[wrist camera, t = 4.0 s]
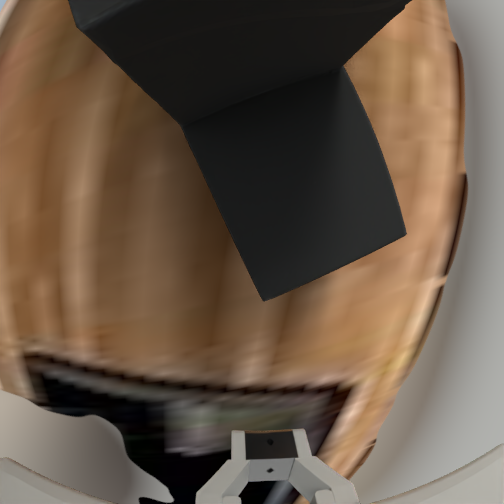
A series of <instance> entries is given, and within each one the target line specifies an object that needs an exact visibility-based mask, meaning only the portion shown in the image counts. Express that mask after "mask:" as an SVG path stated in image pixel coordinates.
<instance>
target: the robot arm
mask: <svg viewBox="0 0 504 504" xmlns="http://www.w3.org/2000/svg"><path fill="white" fill-rule="evenodd" d="M274 480H288V481H289V482H290V483H291V484H292V485H293V486H294V487H295V488H296V489H297V490H298V491H299V492H300V493H301V494H302V495H303V496H304V497H305V498H306V499H307V500H308V501H309V502H310V504H360V501H359V498H358V496H357V493H356V490H355V488H354V485H353V483H351V482H350V481H348V480H347V479H346V478H344V477H343V476H341V475H340V474H339V473H337V472H336V471H334V470H333V469H332V468H330V467H329V466H328V465H326V464H325V463H324V462H322V461H321V460H320V459H318V458H317V457H316V456H312V454H311V451H310V447H309V443H308V440H307V436H306V432H305V430H304V429H292V430H291V429H289V430H271V431H238V430H232V443H231V460H227V461H226V463H225V464H224V465H223V466H222V467H221V468H220V469H219V470H218V471H217V472H216V473H215V474H214V476H213V477H212V478H211V479H210V480H209V481H208V482H207V483H206V484H205V485H204V486H203V487H202V488H201V489H200V490H199V491H198V492H197V494H196V504H241V498H239V497H238V495H239V494H240V493H241V491H242V490H243V488H244V487H245V486H246V484H247V483H248V482H249V481H274ZM0 504H117V503H113V502H109V501H106V500H103V499H100V498H96V497H94V496H91V495H88V494H85V493H82V492H80V491H77V490H75V489H72V488H69V487H67V486H64V485H62V484H60V483H57V482H55V481H53V480H51V479H49V478H46V477H44V476H42V475H40V474H38V473H36V472H34V471H32V470H30V469H28V468H27V467H25V466H23V465H21V464H19V463H18V462H16V461H14V460H12V459H10V458H7V457H5V458H0ZM370 504H504V444H500V445H498V446H497V447H495V448H494V449H492V450H490V451H489V452H487V453H486V454H484V455H482V456H481V457H479V458H477V459H475V460H474V461H472V462H470V463H468V464H467V465H465V466H463V467H461V468H459V469H457V470H455V471H453V472H451V473H449V474H447V475H445V476H443V477H441V478H439V479H436V480H434V481H432V482H430V483H427V484H425V485H422V486H420V487H418V488H415V489H412V490H410V491H407V492H404V493H402V494H399V495H396V496H393V497H390V498H387V499H384V500H380V501H377V502H374V503H370Z"/></svg>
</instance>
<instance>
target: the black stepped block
mask: <svg viewBox="0 0 504 504" xmlns="http://www.w3.org/2000/svg"><path fill="white" fill-rule="evenodd" d="M68 1H69V4H70V8H71V11H72V14H73V17H74V20H75V23H76V27H77V28H78V29H79V30H80V31H82V32H83V33H84V34H85V35H86V36H87V37H88V38H90V39H91V40H92V41H93V42H94V43H95V44H96V45H97V46H98V47H99V48H100V49H101V50H103V51H104V53H105V54H106V55H107V56H108V57H109V58H110V59H111V60H112V61H113V62H114V63H115V64H117V65H118V66H119V67H120V68H121V69H122V70H123V71H124V72H125V73H126V74H127V75H128V76H129V77H130V78H131V79H132V80H133V81H134V82H135V83H137V84H138V86H140V87H141V88H142V89H143V90H144V91H145V92H146V93H147V94H148V95H149V96H150V97H151V98H153V99H154V100H155V101H156V102H157V103H158V104H159V105H160V106H161V107H162V108H163V109H164V110H165V111H166V112H167V113H169V114H170V115H171V116H172V118H173V119H174V120H176V121H177V122H178V124H179V125H180V126H181V128H182V130H183V132H184V135H185V137H186V139H187V141H188V144H189V146H190V148H191V150H192V152H193V154H194V156H195V158H196V161H197V163H198V165H199V167H200V169H201V171H202V174H203V176H204V178H205V180H206V182H207V185H208V187H209V189H210V191H211V193H212V195H213V198H214V200H215V202H216V204H217V206H218V208H219V211H220V213H221V215H222V217H223V219H224V221H225V223H226V226H227V228H228V230H229V232H230V234H231V236H232V238H233V240H234V243H235V245H236V247H237V249H238V251H239V253H240V255H241V257H242V259H243V261H244V264H245V266H246V268H247V270H248V272H249V274H250V276H251V278H252V280H253V282H254V284H255V286H256V289H257V291H258V293H259V295H260V297H261V298H262V300H263V301H267V300H270V299H272V298H275V297H277V296H279V295H282V294H284V293H286V292H288V291H291V290H293V289H295V288H298V287H300V286H302V285H304V284H307V283H309V282H311V281H313V280H315V279H317V278H320V277H322V276H324V275H326V274H328V273H330V272H332V271H335V270H337V269H339V268H341V267H343V266H345V265H347V264H349V263H351V262H354V261H356V260H358V259H360V258H362V257H364V256H366V255H368V254H370V253H372V252H374V251H376V250H378V249H380V248H382V247H384V246H386V245H388V244H390V243H392V242H394V241H396V240H398V239H400V238H402V237H404V236H405V235H406V234H407V233H406V228H405V225H404V221H403V217H402V213H401V209H400V206H399V202H398V199H397V196H396V193H395V189H394V186H393V183H392V180H391V177H390V174H389V171H388V168H387V165H386V162H385V159H384V157H383V154H382V151H381V148H380V146H379V143H378V140H377V138H376V135H375V133H374V130H373V128H372V126H371V123H370V121H369V118H368V116H367V114H366V112H365V109H364V107H363V105H362V103H361V100H360V98H359V96H358V94H357V92H356V90H355V88H354V86H353V84H352V82H351V80H350V78H349V76H348V74H347V72H346V70H345V68H344V66H343V65H344V64H345V63H346V62H347V61H348V60H349V59H350V58H351V57H352V56H353V55H354V54H355V53H356V52H357V51H358V50H359V49H360V48H362V47H363V46H364V45H365V44H366V43H367V42H368V41H369V40H370V39H371V38H372V37H373V36H374V35H375V34H376V33H378V32H379V31H380V30H381V29H382V28H383V27H384V26H385V25H386V24H387V23H388V22H389V21H390V20H392V19H393V18H394V17H395V16H396V15H398V14H399V13H400V12H401V11H402V10H404V8H405V5H406V4H408V3H409V2H410V1H412V0H68Z"/></svg>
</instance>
